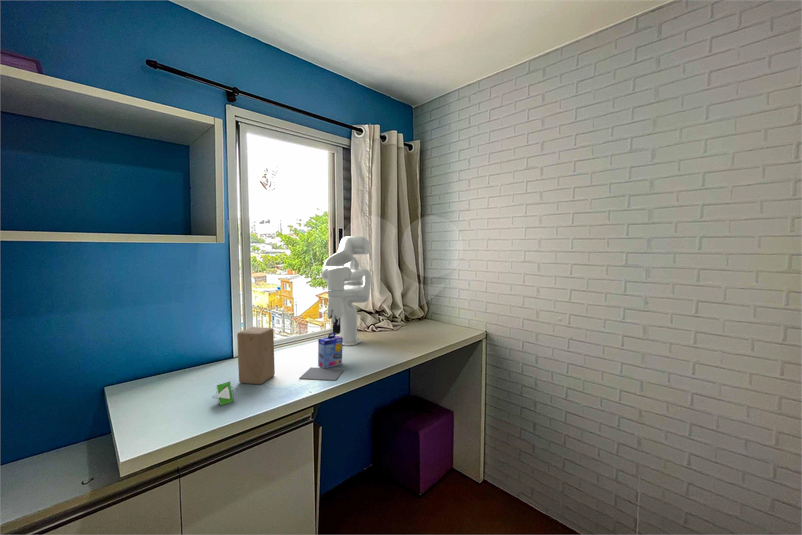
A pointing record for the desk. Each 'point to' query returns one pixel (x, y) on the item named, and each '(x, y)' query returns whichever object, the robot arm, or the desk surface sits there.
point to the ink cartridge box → (330, 351)
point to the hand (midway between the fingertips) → (336, 332)
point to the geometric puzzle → (225, 393)
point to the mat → (322, 374)
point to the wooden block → (256, 355)
